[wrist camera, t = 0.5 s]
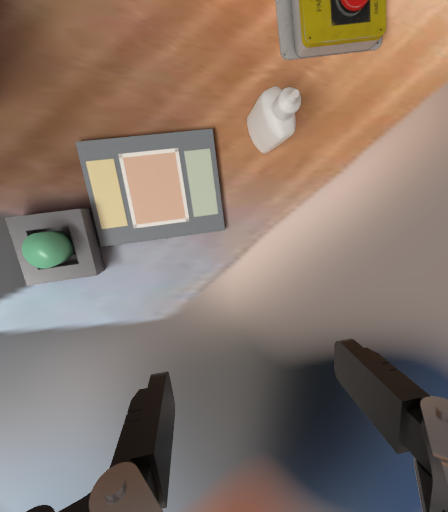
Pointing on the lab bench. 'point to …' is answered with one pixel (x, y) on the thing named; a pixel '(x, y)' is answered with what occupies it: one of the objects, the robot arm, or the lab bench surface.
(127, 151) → the colouring board
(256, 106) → the eye dropper bottle
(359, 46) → the emergency button
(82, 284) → the lab bench surface
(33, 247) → the button
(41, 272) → the button housing
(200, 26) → the lab bench surface
